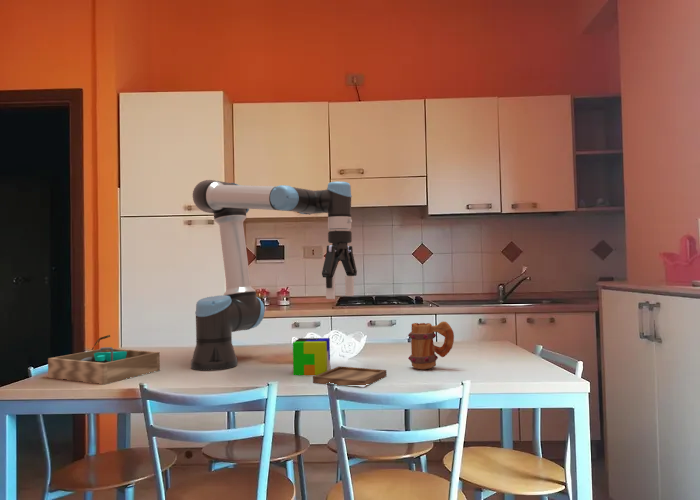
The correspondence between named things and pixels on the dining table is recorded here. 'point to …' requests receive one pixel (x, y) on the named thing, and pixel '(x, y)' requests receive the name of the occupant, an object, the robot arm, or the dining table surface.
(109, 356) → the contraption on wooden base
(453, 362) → the dining table surface
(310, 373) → the puzzle toy
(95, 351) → the open wooden box
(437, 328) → the mug
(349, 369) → the square wooden tray
